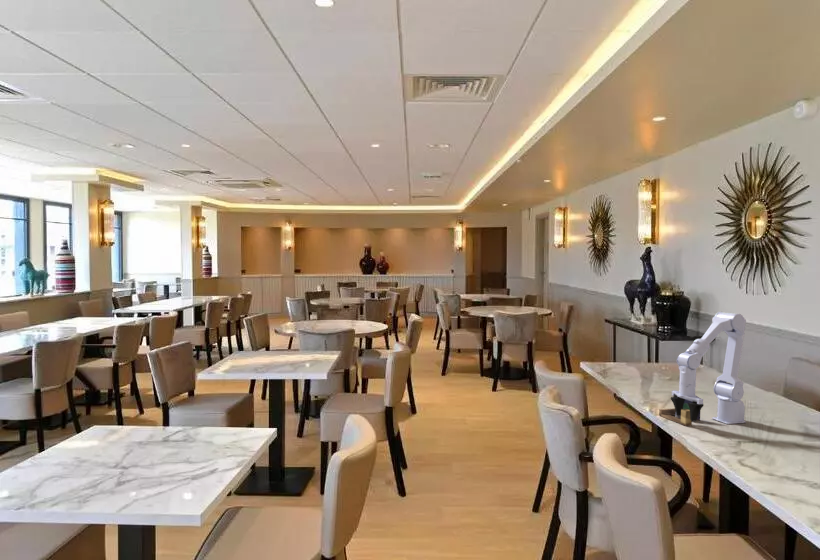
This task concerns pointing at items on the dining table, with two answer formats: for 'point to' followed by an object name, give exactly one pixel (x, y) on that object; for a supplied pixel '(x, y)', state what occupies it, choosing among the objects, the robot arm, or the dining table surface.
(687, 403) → the flask
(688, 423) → the wooden t-shaped handle
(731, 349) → the robot arm
